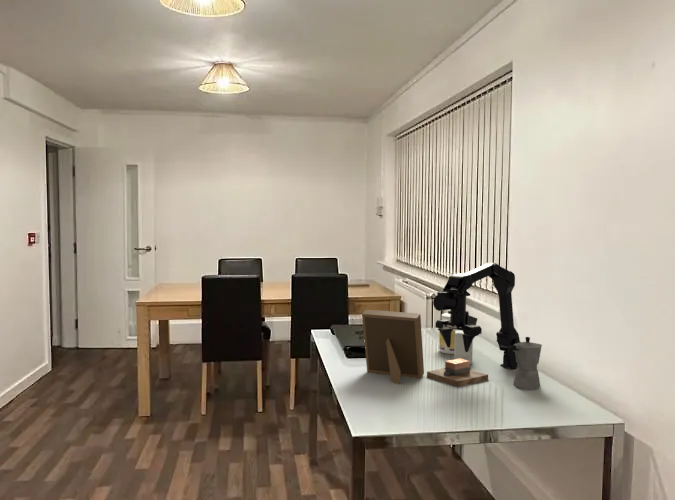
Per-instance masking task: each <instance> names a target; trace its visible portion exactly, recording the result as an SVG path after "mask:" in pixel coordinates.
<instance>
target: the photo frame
mask: <svg viewBox="0 0 675 500" xmlns="http://www.w3.org/2000/svg"><path fill="white" fill-rule="evenodd" d="M421 316H422V315H421V313H418V312H416V313H414V312H406V311H405V312H403V311H401V312H400V311H393V310H392V311H391V310H379V309H378V310H377V309H365V310H364V311H363V312H362V313H361V318H362V329H363V340H364V342H365V363H366V364H365V365H366V371H367V373H371V374H372V373H373V374H374V373H375V374H381V375H388V376H390V382H392V383H394V384H397V385H400V382H401V377H403V378H413V379H420V380H421V379H422V378H423V376H424V374H425V368H424V366H425V364H424V352H423V351H424V349H423V348H424V347H423V336H422V335H423V334H422V333H423V331H422V318H421Z"/></svg>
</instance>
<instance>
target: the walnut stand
mask: <svg viewBox="0 0 675 500" xmlns="http://www.w3.org/2000/svg"><path fill="white" fill-rule="evenodd" d="M444 371H445V367H442V368H439V369H433V370H428V371H426V378H430V379H432V380H436V381H439V382H442V383H445V384H447V385H451V386H454V387H457V388H458V387H463V386H469V385H472V384H477V383H481V382H485V381H489V374H488V373H484V372H481V371H478V370H477V371H476V370H475V369H474V370H473V369H470V373H467V374H463V375H458V376H446V375H444Z"/></svg>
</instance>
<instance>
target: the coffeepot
mask: <svg viewBox="0 0 675 500" xmlns="http://www.w3.org/2000/svg"><path fill="white" fill-rule="evenodd" d="M542 346H543V344H540V343H536V342H531V337H529V336H526V337H525V341H520V343H516V344H514V345H512V346H511V347H510V348H509V349H508V354H509V358H510V362H511V365H512V368H515V373H514V374H515V375H514V379H513V386H514V387H515V388H516V389H520V390H525V391H535V390H539V389H540V388H541V381H540V375H539V370H538V365H539V362H540V357H541V351H542ZM514 350H515V356H516V362H517V363H518V367H517V365H515V364H514V362H515V361H514V358H513V351H514Z"/></svg>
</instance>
